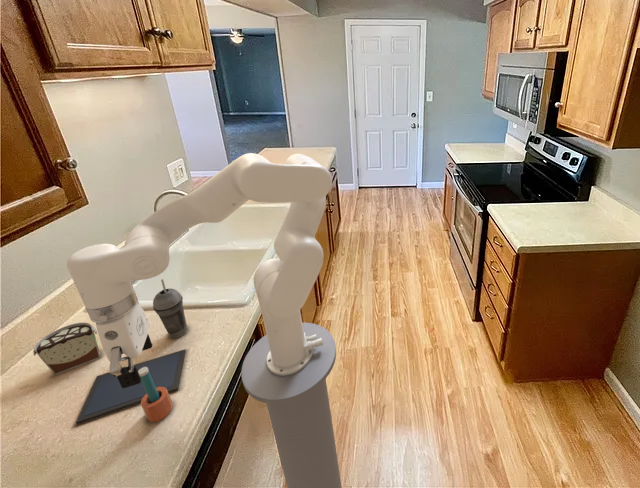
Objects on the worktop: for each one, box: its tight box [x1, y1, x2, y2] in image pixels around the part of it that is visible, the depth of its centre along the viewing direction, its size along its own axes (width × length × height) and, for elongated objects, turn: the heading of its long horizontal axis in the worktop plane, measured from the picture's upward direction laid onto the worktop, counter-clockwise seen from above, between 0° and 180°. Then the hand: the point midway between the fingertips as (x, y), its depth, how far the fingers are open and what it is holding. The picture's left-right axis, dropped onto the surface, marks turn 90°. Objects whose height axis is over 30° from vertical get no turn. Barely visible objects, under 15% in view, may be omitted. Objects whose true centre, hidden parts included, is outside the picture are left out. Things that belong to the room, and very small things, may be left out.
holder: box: [140, 387, 174, 423], centre depth 77 cm, size 5×5×5 cm
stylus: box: [138, 367, 160, 403], centre depth 75 cm, size 2×2×13 cm
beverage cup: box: [152, 278, 188, 339], centre depth 97 cm, size 7×7×20 cm
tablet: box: [75, 349, 187, 425], centre depth 84 cm, size 20×13×1 cm, turn 114°
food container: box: [32, 322, 101, 376], centre depth 90 cm, size 12×6×10 cm, turn 125°
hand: (138, 365), depth 72 cm, fingers open, 9 cm apart
